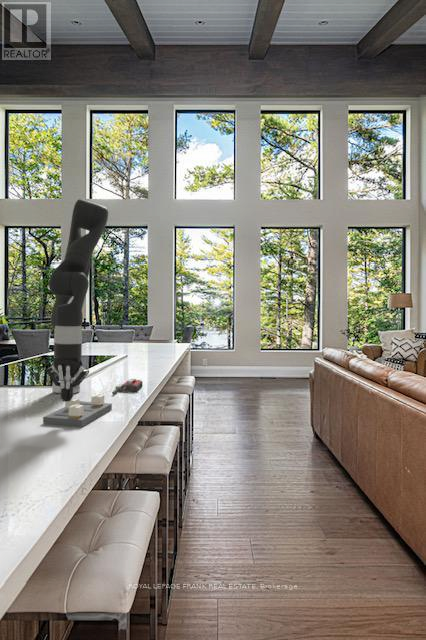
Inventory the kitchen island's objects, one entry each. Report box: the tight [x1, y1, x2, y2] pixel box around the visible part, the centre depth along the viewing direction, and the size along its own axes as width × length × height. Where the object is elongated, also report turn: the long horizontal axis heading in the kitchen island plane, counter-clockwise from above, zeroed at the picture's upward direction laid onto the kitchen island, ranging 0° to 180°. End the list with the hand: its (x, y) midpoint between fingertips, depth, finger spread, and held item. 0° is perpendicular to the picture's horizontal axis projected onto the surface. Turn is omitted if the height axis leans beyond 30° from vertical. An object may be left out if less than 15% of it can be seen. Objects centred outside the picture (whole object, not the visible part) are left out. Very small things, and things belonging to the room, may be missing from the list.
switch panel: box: [42, 400, 113, 428], centre depth 129 cm, size 12×20×2 cm, turn 170°
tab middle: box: [64, 396, 80, 409], centre depth 129 cm, size 3×3×3 cm
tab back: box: [90, 393, 105, 405], centre depth 135 cm, size 3×3×3 cm
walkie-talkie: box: [111, 378, 143, 395], centre depth 167 cm, size 9×4×20 cm
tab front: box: [69, 404, 84, 416], centre depth 121 cm, size 3×3×3 cm
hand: (67, 400), depth 122 cm, fingers closed
